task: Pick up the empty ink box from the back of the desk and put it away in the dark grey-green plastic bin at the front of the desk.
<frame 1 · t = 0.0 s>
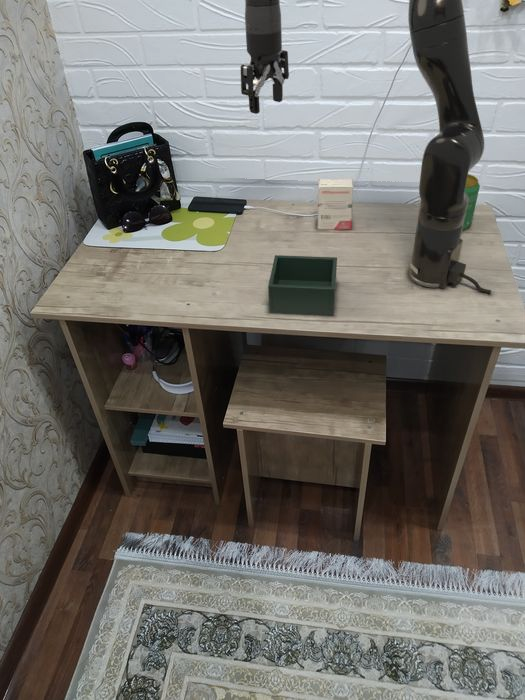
hand: (266, 106, 130), 29 cm above the table, tool pointing down, fingers open, 8 cm apart
ink box: (334, 226, 147), on the table
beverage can: (454, 224, 145), on the table
bin: (303, 297, 125), on the table
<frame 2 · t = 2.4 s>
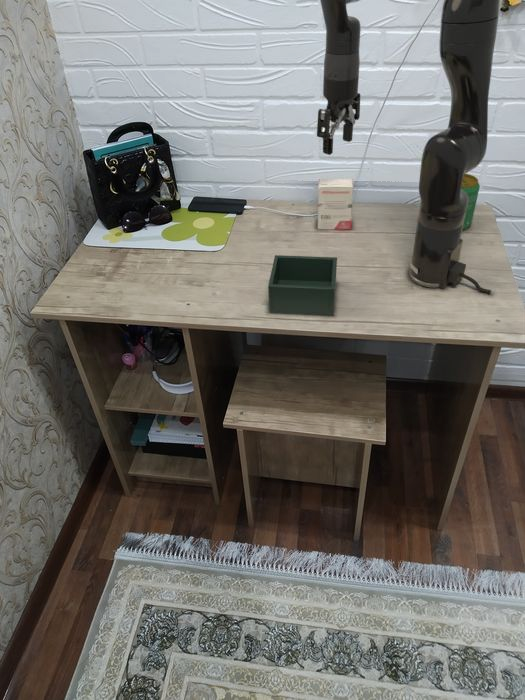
hand: (337, 147, 133), 21 cm above the table, tool pointing down, fingers open, 8 cm apart
nothing on the table moved.
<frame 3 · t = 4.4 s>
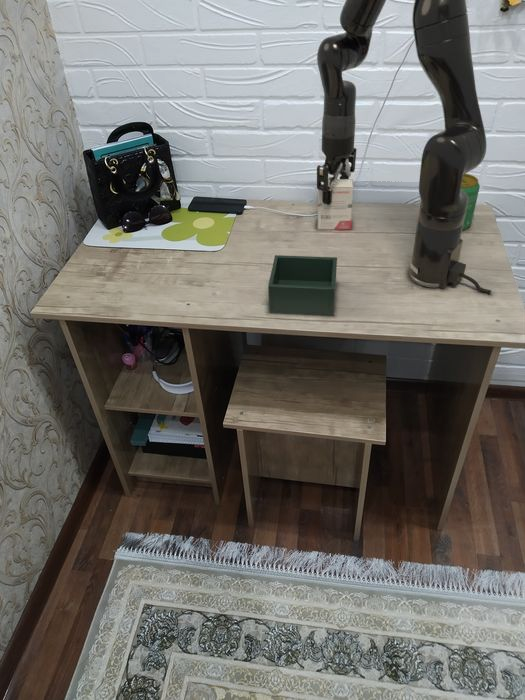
hand: (335, 197, 142), 8 cm above the table, tool pointing down, fingers closed on ink box, 7 cm apart
ink box: (334, 226, 147), on the table, touching gripper
everything else where it was.
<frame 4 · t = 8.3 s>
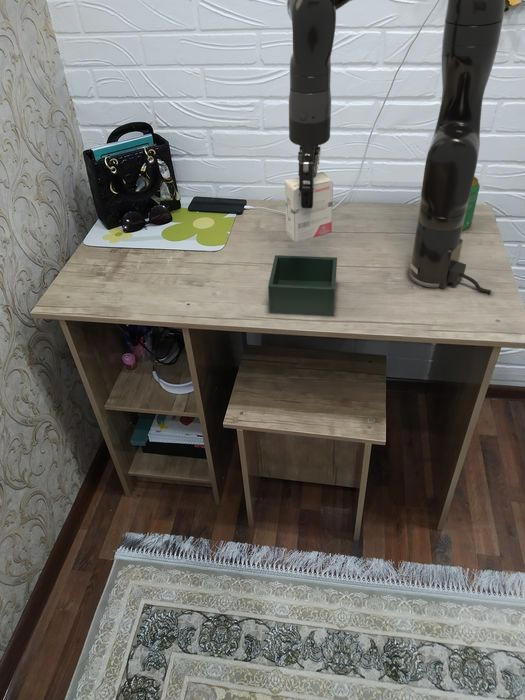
hand: (308, 197, 113), 22 cm above the table, tool pointing down, fingers closed on ink box, 7 cm apart
ink box: (308, 233, 119), point 14 cm above the table, touching gripper
everything else where it was.
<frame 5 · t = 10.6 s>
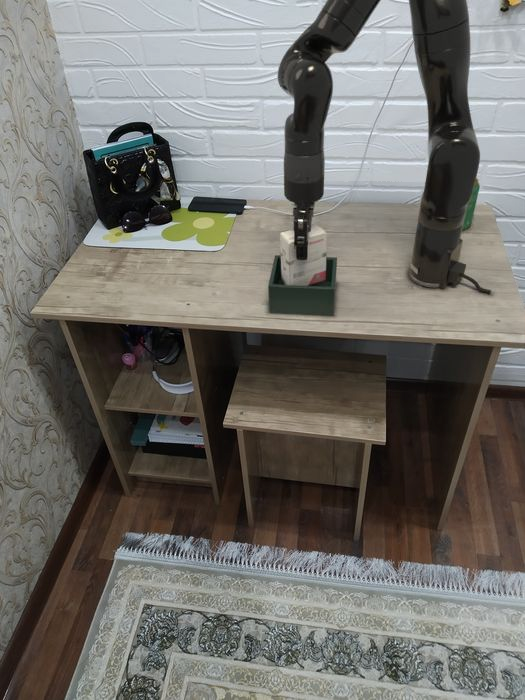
hand: (303, 248, 117), 13 cm above the table, tool pointing down, fingers closed on ink box, 7 cm apart
ink box: (303, 281, 122), point 4 cm above the table, touching gripper
everything else where it was.
when the fingers open (9 cm above the table, at t = 12.3 s): ink box stays where it is, resting on bin.
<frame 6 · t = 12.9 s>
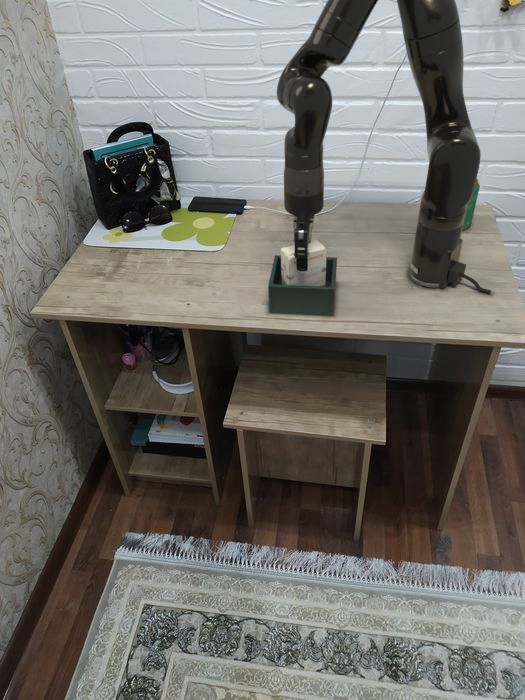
hand: (303, 258, 118), 10 cm above the table, tool pointing down, fingers open, 8 cm apart
ink box: (303, 294, 124), point 1 cm above the table, touching bin
everything else where it was.
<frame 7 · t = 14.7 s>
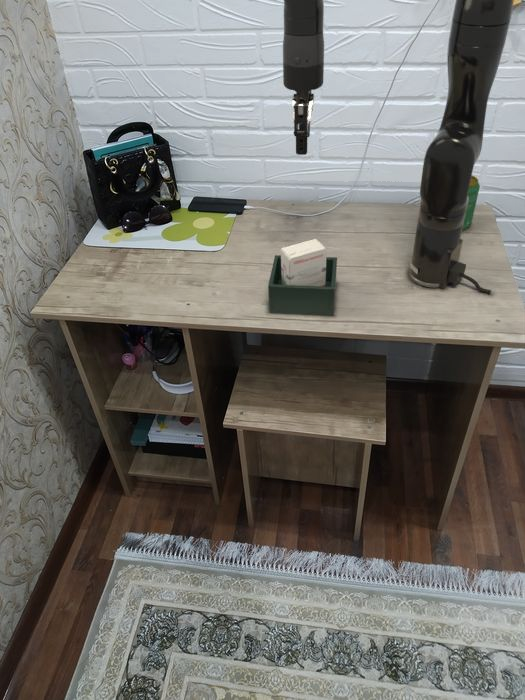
hand: (303, 145, 115), 29 cm above the table, tool pointing down, fingers open, 8 cm apart
nothing on the table moved.
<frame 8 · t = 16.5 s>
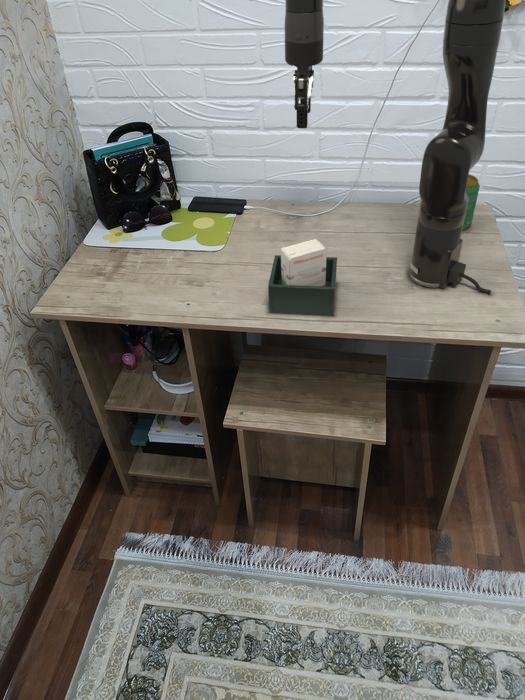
hand: (303, 119, 121), 30 cm above the table, tool pointing down, fingers open, 8 cm apart
nothing on the table moved.
at the end: ink box inside the target area in the bin (0.1 cm from its centre), point 0.8 cm above the bin's base; the gripper is holding nothing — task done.
